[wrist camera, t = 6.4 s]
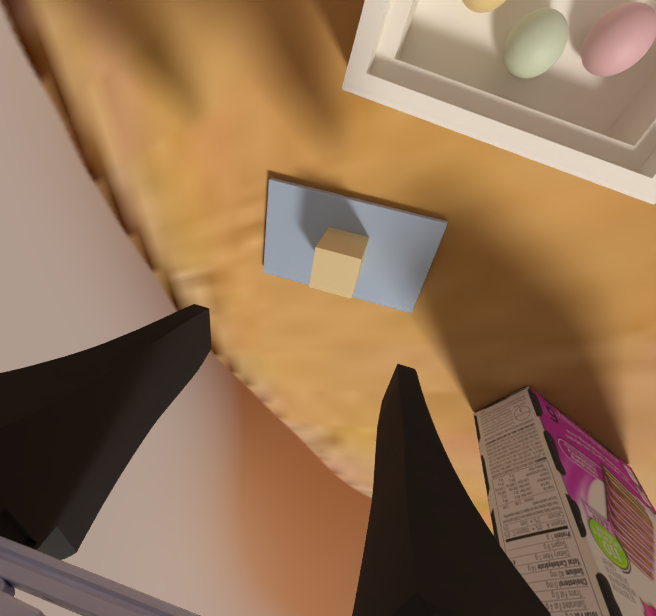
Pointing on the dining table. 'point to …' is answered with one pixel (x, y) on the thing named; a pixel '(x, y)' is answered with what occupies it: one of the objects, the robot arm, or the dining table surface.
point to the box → (523, 78)
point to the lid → (349, 244)
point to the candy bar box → (567, 510)
